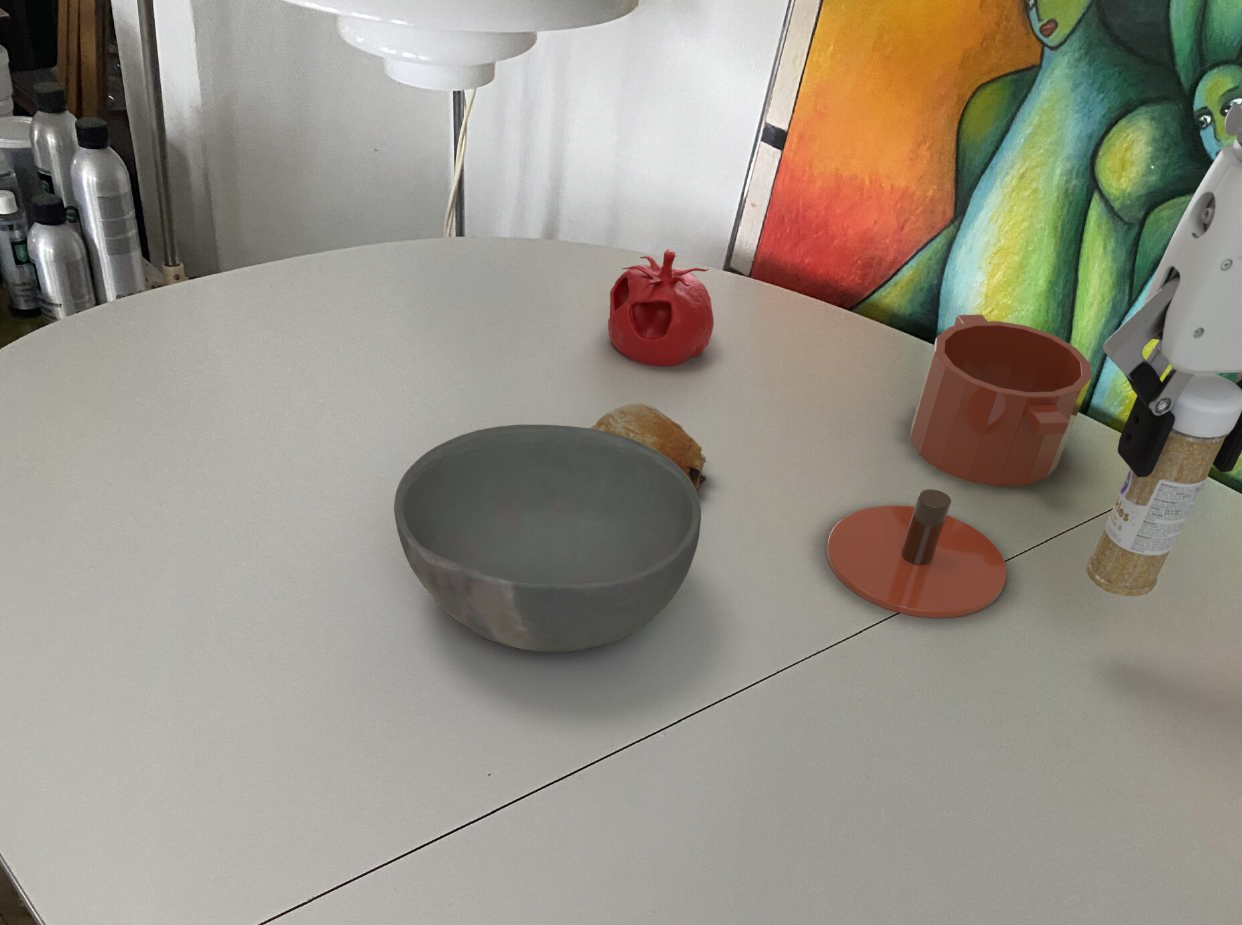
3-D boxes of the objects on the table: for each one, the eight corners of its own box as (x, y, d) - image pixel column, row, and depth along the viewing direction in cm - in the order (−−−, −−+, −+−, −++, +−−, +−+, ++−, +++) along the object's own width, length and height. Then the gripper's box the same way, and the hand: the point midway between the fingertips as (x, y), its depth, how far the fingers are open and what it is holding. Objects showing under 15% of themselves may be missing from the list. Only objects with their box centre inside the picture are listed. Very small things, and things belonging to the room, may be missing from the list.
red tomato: (667, 318, 117) (677, 217, 110) (730, 363, 112) (746, 260, 105) (582, 340, 113) (588, 236, 106) (644, 387, 108) (654, 282, 101)
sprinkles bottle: (1079, 555, 81) (1159, 363, 71) (1147, 561, 81) (1237, 371, 71) (1091, 596, 78) (1176, 403, 68) (1161, 603, 78) (1257, 411, 68)
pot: (1008, 397, 112) (1039, 305, 105) (1092, 507, 100) (1133, 412, 94) (879, 400, 109) (903, 307, 103) (950, 514, 98) (982, 416, 92)
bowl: (737, 599, 89) (759, 478, 81) (581, 754, 77) (591, 629, 69) (515, 501, 95) (517, 380, 88) (341, 630, 83) (326, 503, 76)
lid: (963, 514, 98) (986, 445, 93) (1030, 619, 89) (1059, 548, 85) (803, 521, 96) (819, 451, 91) (855, 630, 87) (876, 558, 83)
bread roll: (616, 483, 104) (584, 395, 99) (727, 462, 99) (698, 369, 94) (577, 544, 98) (540, 453, 93) (693, 525, 93) (660, 429, 88)
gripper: (1204, 162, 56) (1069, 506, 70) (1524, 156, 58) (1332, 489, 72) (1131, 104, 60) (1018, 436, 74) (1430, 100, 63) (1266, 423, 77)
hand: (1174, 459), depth 73 cm, fingers closed on sprinkles bottle, 4 cm apart
